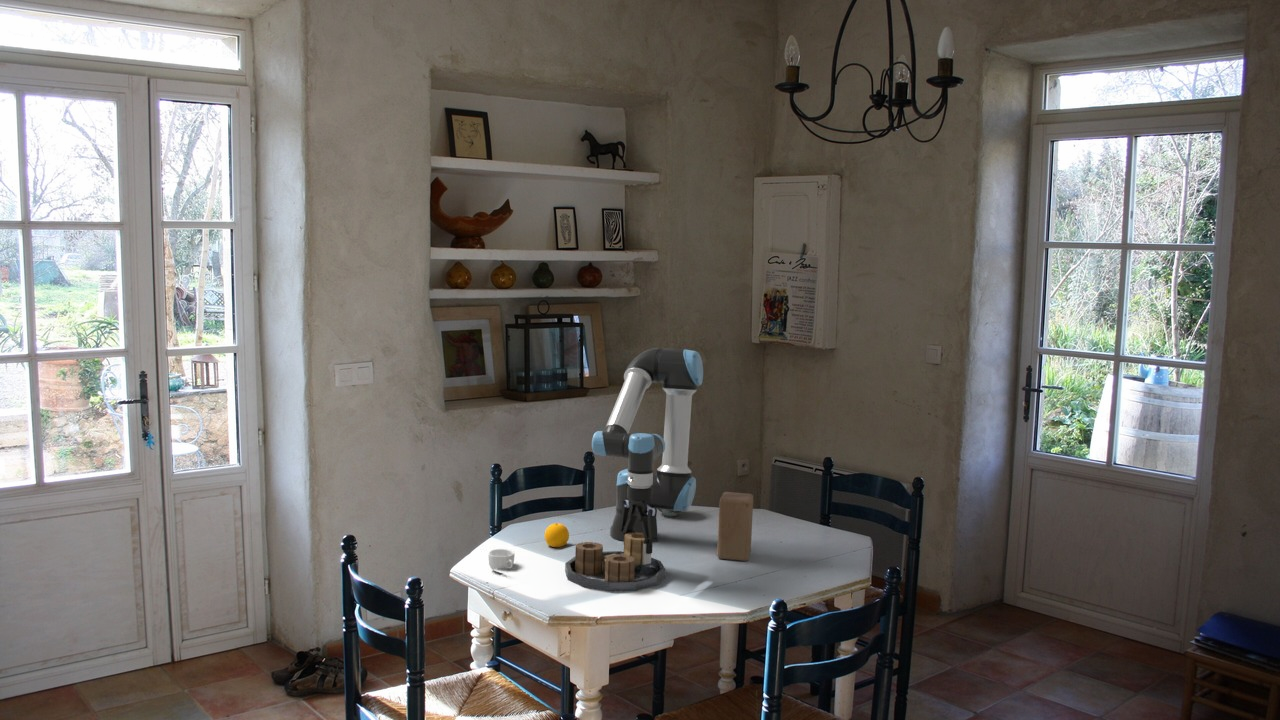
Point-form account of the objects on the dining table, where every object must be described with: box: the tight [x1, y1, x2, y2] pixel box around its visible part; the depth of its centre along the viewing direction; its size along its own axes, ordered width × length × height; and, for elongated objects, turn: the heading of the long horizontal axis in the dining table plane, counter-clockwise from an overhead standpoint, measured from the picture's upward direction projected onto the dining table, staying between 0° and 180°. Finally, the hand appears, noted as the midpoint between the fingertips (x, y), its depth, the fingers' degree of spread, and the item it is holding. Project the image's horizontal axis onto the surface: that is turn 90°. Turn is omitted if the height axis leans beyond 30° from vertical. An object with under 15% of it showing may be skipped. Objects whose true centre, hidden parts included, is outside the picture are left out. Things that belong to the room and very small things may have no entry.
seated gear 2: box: [605, 554, 635, 581], centre depth 282 cm, size 8×8×8 cm
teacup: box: [488, 548, 515, 573], centre depth 295 cm, size 10×8×5 cm
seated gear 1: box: [574, 541, 604, 575], centre depth 294 cm, size 8×8×8 cm
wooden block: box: [716, 491, 754, 562], centre depth 317 cm, size 10×10×20 cm
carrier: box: [564, 550, 666, 593], centre depth 291 cm, size 29×29×8 cm
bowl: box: [657, 509, 683, 518], centre depth 365 cm, size 14×13×8 cm
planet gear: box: [623, 532, 649, 565], centre depth 296 cm, size 8×8×8 cm
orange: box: [544, 522, 570, 548], centre depth 322 cm, size 8×8×8 cm
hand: (637, 559), depth 296 cm, fingers closed on planet gear, 8 cm apart
